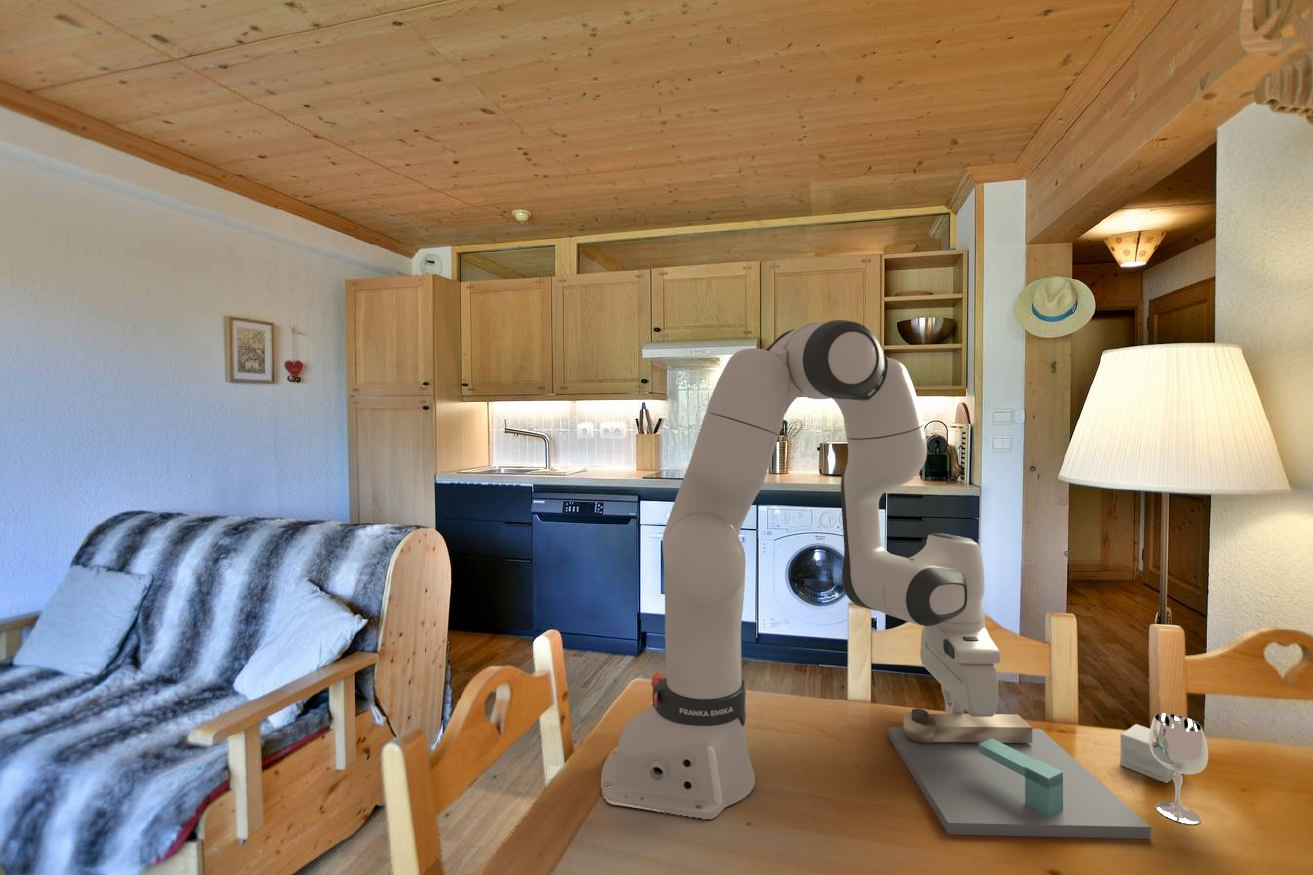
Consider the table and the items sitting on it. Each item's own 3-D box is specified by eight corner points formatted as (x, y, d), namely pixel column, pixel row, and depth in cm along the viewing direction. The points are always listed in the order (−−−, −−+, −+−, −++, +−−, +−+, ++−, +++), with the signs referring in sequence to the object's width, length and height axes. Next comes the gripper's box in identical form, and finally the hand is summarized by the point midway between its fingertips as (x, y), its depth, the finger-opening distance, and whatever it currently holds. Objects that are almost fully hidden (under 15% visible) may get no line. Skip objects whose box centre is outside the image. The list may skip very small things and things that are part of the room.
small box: (1183, 771, 85) (1183, 738, 85) (1168, 785, 82) (1168, 751, 82) (1134, 753, 90) (1135, 722, 90) (1119, 765, 87) (1119, 733, 87)
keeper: (978, 776, 83) (978, 742, 83) (992, 770, 84) (992, 736, 84) (1049, 816, 74) (1048, 778, 74) (1063, 809, 75) (1062, 771, 75)
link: (910, 742, 91) (909, 719, 91) (899, 726, 96) (899, 704, 96) (1033, 744, 90) (1033, 720, 90) (1016, 727, 94) (1016, 705, 94)
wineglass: (1220, 830, 73) (1220, 735, 73) (1166, 825, 74) (1166, 731, 74) (1188, 801, 79) (1188, 712, 78) (1139, 796, 80) (1138, 709, 80)
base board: (948, 834, 74) (948, 822, 73) (888, 736, 96) (888, 727, 96) (1150, 838, 72) (1150, 826, 72) (1040, 737, 95) (1040, 728, 95)
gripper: (910, 612, 107) (911, 687, 107) (962, 657, 86) (962, 750, 87) (946, 611, 106) (947, 687, 107) (1006, 657, 86) (1007, 750, 86)
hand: (954, 716), depth 96 cm, fingers closed
